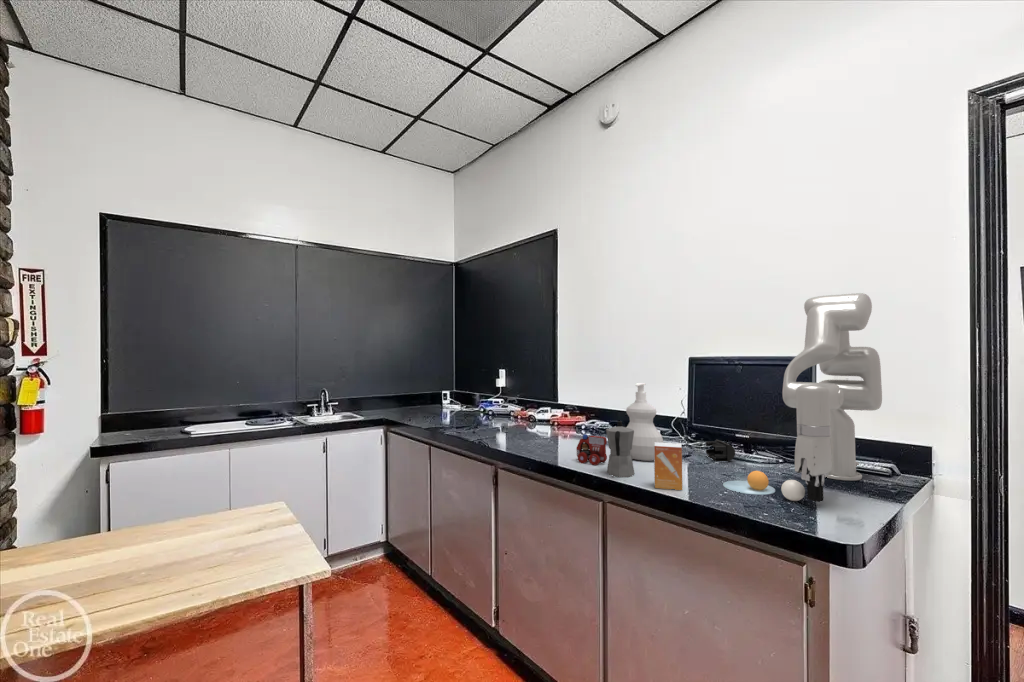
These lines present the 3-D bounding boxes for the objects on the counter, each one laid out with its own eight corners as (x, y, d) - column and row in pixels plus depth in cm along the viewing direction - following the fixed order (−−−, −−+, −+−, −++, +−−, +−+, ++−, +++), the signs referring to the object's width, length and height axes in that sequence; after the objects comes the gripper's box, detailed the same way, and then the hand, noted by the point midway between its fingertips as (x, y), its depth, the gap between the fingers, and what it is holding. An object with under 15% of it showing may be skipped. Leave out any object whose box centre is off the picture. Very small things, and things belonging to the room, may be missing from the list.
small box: (654, 488, 137) (653, 445, 138) (654, 483, 143) (653, 441, 144) (683, 491, 135) (682, 447, 135) (681, 485, 141) (681, 442, 141)
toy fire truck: (582, 458, 178) (582, 431, 178) (611, 463, 170) (610, 435, 170) (572, 461, 172) (572, 434, 173) (601, 467, 164) (601, 438, 165)
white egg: (812, 486, 124) (803, 502, 126) (791, 473, 128) (783, 489, 130) (803, 491, 121) (794, 507, 123) (783, 477, 125) (774, 493, 127)
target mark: (741, 478, 147) (741, 478, 147) (785, 490, 135) (785, 489, 135) (713, 485, 140) (713, 484, 140) (756, 497, 128) (756, 496, 128)
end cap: (735, 462, 169) (735, 444, 169) (716, 462, 169) (716, 444, 169) (723, 456, 179) (723, 439, 179) (705, 456, 179) (705, 439, 179)
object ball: (774, 489, 133) (757, 489, 138) (770, 469, 135) (753, 470, 139) (762, 491, 131) (745, 491, 135) (758, 471, 132) (741, 471, 137)
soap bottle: (615, 458, 177) (614, 383, 177) (627, 453, 186) (626, 381, 186) (657, 464, 166) (656, 384, 167) (668, 459, 175) (667, 382, 176)
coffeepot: (609, 468, 162) (608, 417, 163) (636, 470, 159) (635, 418, 160) (602, 479, 148) (602, 424, 148) (632, 482, 144) (631, 425, 145)
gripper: (813, 426, 128) (815, 492, 128) (783, 431, 121) (784, 500, 121) (843, 430, 122) (845, 499, 121) (813, 436, 114) (815, 509, 114)
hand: (815, 500), depth 121 cm, fingers closed
